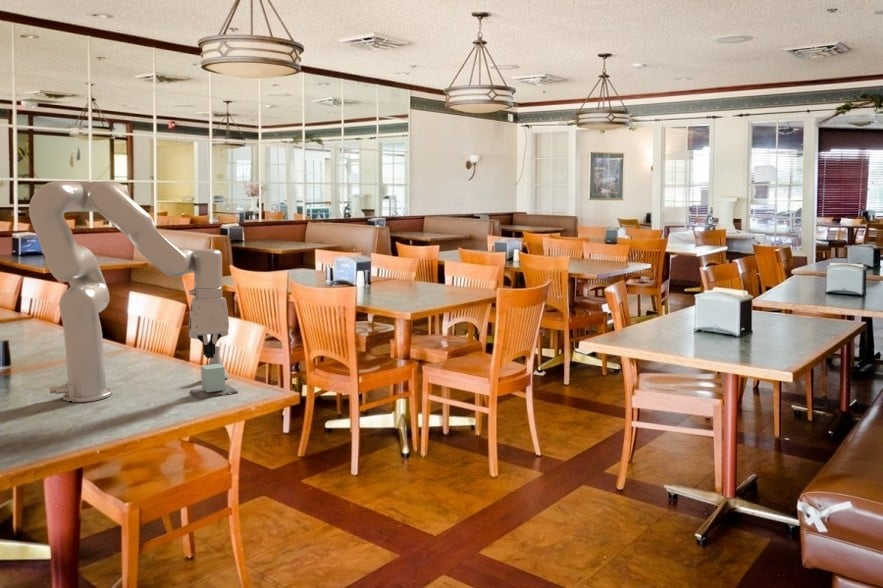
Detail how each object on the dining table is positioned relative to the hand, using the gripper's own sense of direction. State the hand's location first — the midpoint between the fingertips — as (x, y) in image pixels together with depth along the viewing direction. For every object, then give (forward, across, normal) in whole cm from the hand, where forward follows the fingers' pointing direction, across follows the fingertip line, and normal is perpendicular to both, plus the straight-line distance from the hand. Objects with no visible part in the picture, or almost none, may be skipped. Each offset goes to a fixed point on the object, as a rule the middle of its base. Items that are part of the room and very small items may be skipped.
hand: (209, 357), depth 216 cm
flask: (+11, +6, +15) cm, 19 cm away
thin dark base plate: (+10, +1, 0) cm, 10 cm away
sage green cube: (+9, +1, 0) cm, 9 cm away
